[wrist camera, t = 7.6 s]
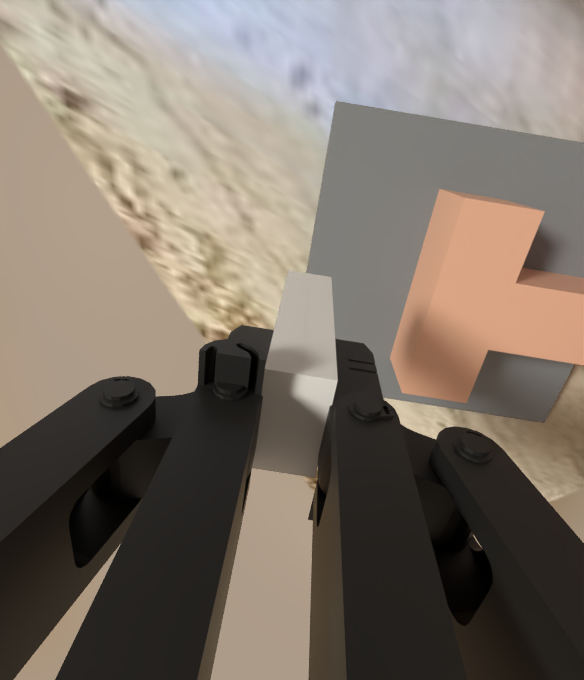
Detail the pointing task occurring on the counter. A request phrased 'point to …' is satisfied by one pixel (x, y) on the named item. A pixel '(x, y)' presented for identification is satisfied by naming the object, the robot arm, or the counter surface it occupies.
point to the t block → (481, 298)
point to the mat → (412, 223)
